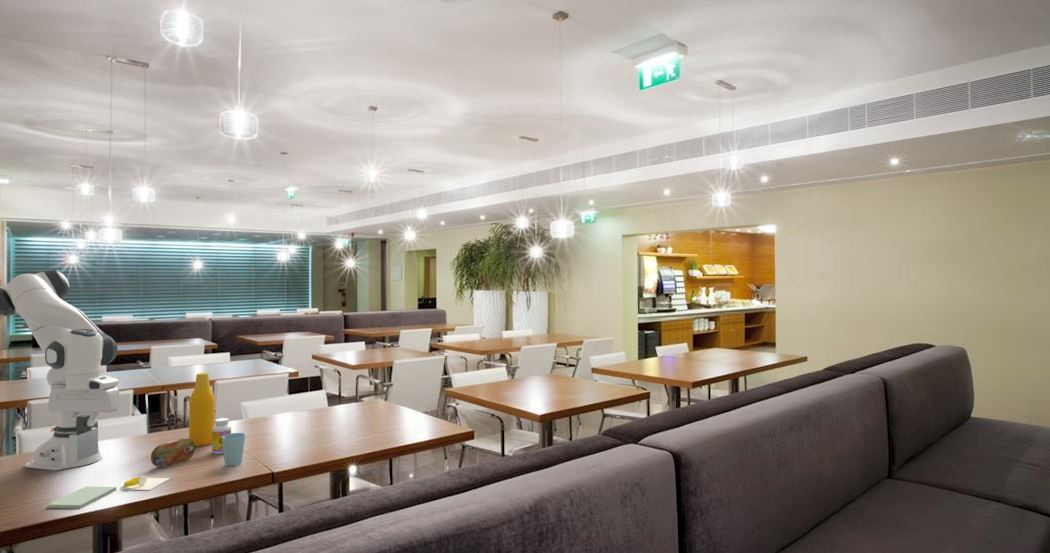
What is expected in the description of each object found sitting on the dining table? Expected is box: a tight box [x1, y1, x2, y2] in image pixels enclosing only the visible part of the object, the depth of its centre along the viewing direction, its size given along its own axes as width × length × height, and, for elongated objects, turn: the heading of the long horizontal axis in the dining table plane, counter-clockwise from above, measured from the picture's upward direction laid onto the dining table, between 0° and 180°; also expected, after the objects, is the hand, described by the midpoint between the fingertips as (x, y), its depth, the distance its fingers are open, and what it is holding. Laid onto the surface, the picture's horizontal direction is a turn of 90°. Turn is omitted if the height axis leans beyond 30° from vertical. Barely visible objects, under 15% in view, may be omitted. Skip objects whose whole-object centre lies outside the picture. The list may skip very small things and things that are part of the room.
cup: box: [222, 432, 246, 467], centre depth 203 cm, size 8×8×10 cm
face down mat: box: [121, 477, 171, 492], centre depth 182 cm, size 9×10×1 cm
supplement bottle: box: [211, 417, 232, 455], centre depth 216 cm, size 7×7×13 cm
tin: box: [150, 438, 196, 469], centre depth 202 cm, size 15×3×8 cm, turn 154°
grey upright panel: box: [69, 414, 99, 462], centre depth 170 cm, size 2×8×13 cm, turn 179°
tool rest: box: [47, 485, 117, 509], centre depth 170 cm, size 10×14×1 cm
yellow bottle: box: [188, 372, 216, 448], centre depth 226 cm, size 9×9×29 cm
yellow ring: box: [123, 475, 147, 488], centre depth 181 cm, size 6×3×6 cm
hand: (83, 425), depth 170 cm, fingers closed on grey upright panel, 2 cm apart
